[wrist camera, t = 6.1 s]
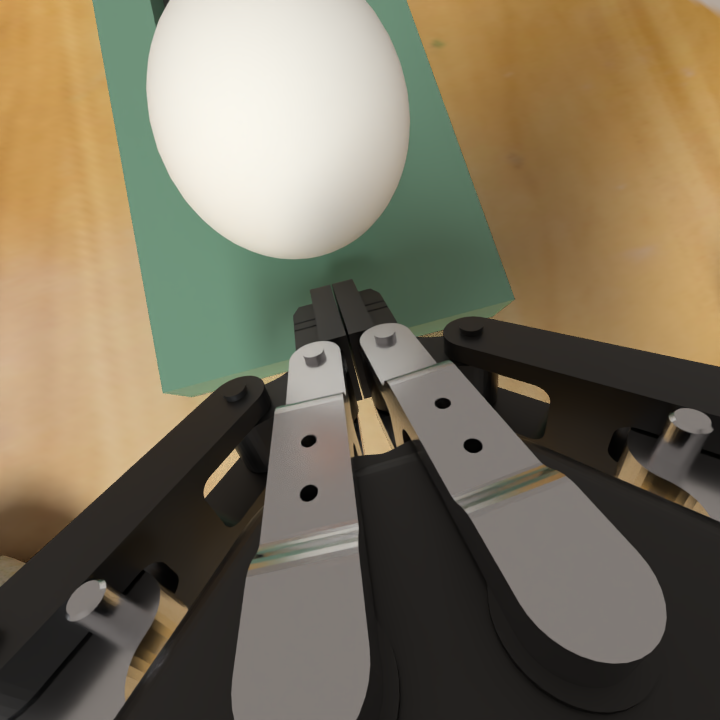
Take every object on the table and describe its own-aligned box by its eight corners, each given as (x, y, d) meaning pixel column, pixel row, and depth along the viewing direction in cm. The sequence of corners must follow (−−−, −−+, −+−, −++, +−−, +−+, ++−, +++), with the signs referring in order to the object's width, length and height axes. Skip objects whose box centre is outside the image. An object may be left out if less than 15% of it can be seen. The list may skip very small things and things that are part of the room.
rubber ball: (368, 110, 16) (378, -176, 9) (418, 266, 15) (483, 97, 7) (199, 149, 16) (44, -113, 8) (235, 313, 15) (94, 190, 7)
